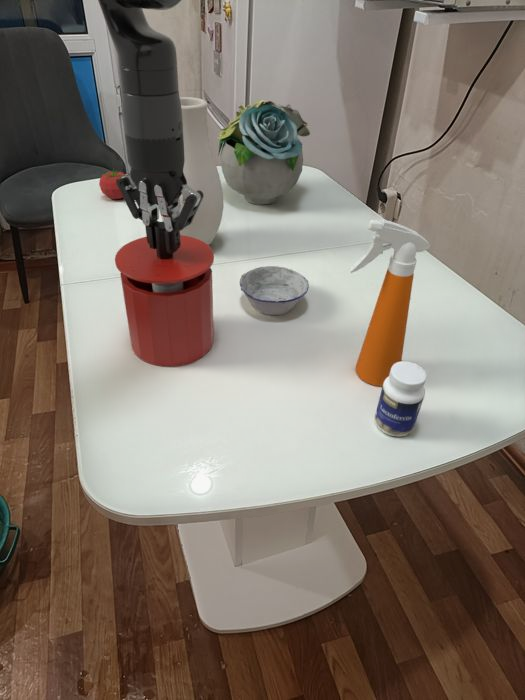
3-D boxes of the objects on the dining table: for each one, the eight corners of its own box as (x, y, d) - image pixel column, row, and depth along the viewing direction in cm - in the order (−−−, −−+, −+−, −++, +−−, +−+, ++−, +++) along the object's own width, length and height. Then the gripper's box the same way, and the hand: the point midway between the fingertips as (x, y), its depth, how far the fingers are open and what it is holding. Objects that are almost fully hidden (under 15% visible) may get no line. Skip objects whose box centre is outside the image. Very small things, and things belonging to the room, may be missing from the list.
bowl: (268, 331, 91) (269, 308, 88) (225, 299, 98) (225, 277, 95) (320, 307, 97) (323, 285, 94) (276, 279, 105) (278, 258, 102)
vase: (151, 242, 116) (135, 98, 97) (200, 226, 123) (194, 90, 105) (185, 266, 108) (175, 114, 89) (236, 247, 115) (236, 104, 97)
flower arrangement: (319, 193, 143) (329, 98, 128) (283, 226, 125) (291, 120, 110) (240, 176, 151) (241, 85, 136) (196, 205, 133) (192, 104, 118)
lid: (179, 297, 70) (176, 258, 67) (94, 270, 75) (87, 232, 72) (231, 254, 81) (231, 217, 77) (154, 232, 86) (150, 197, 82)
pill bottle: (370, 431, 73) (383, 378, 67) (378, 405, 77) (391, 354, 71) (410, 443, 71) (427, 391, 65) (416, 416, 76) (433, 364, 69)
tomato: (119, 205, 131) (115, 176, 126) (95, 199, 134) (90, 170, 129) (138, 195, 137) (134, 166, 132) (114, 189, 139) (110, 161, 135)
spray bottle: (329, 359, 85) (352, 209, 69) (392, 358, 86) (429, 209, 70) (337, 388, 80) (364, 232, 63) (404, 386, 81) (448, 232, 64)
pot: (184, 376, 80) (179, 305, 72) (114, 350, 85) (101, 280, 77) (227, 331, 90) (227, 263, 82) (162, 310, 95) (156, 243, 86)
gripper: (91, 126, 66) (111, 248, 76) (183, 144, 61) (190, 271, 72) (128, 113, 71) (141, 229, 82) (214, 129, 66) (217, 250, 77)
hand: (164, 248), depth 77 cm, fingers closed on lid, 2 cm apart
